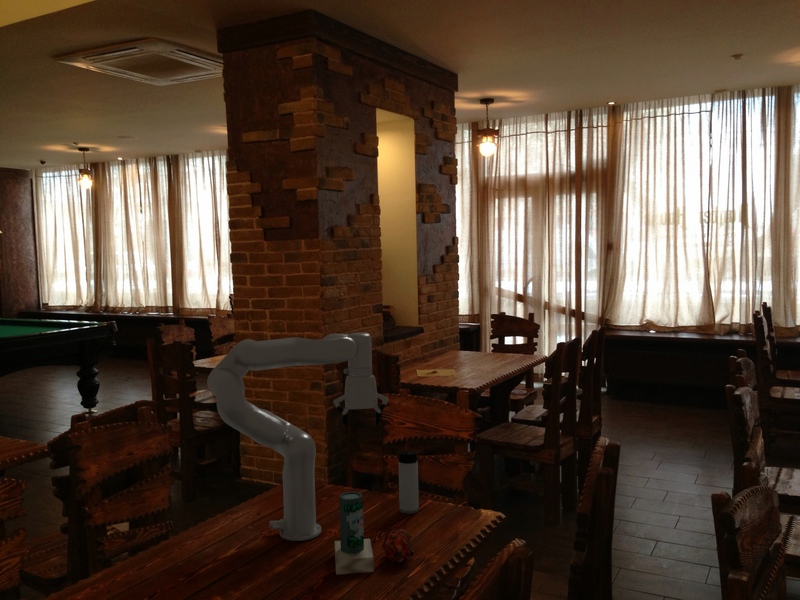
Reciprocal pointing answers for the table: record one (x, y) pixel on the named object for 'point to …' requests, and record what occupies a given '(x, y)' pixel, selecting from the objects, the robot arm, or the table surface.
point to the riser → (354, 559)
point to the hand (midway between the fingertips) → (361, 425)
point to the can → (351, 522)
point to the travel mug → (408, 482)
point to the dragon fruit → (397, 546)
